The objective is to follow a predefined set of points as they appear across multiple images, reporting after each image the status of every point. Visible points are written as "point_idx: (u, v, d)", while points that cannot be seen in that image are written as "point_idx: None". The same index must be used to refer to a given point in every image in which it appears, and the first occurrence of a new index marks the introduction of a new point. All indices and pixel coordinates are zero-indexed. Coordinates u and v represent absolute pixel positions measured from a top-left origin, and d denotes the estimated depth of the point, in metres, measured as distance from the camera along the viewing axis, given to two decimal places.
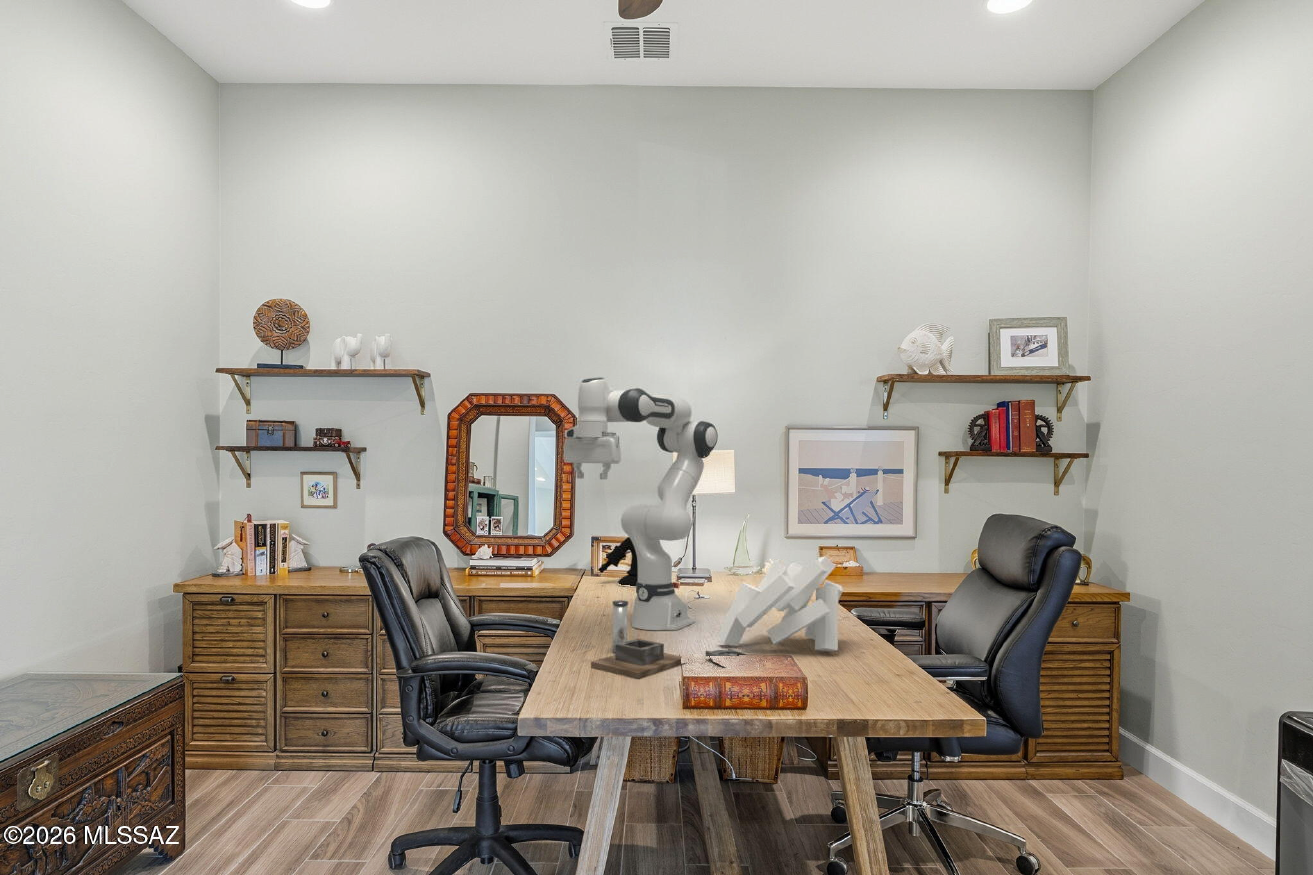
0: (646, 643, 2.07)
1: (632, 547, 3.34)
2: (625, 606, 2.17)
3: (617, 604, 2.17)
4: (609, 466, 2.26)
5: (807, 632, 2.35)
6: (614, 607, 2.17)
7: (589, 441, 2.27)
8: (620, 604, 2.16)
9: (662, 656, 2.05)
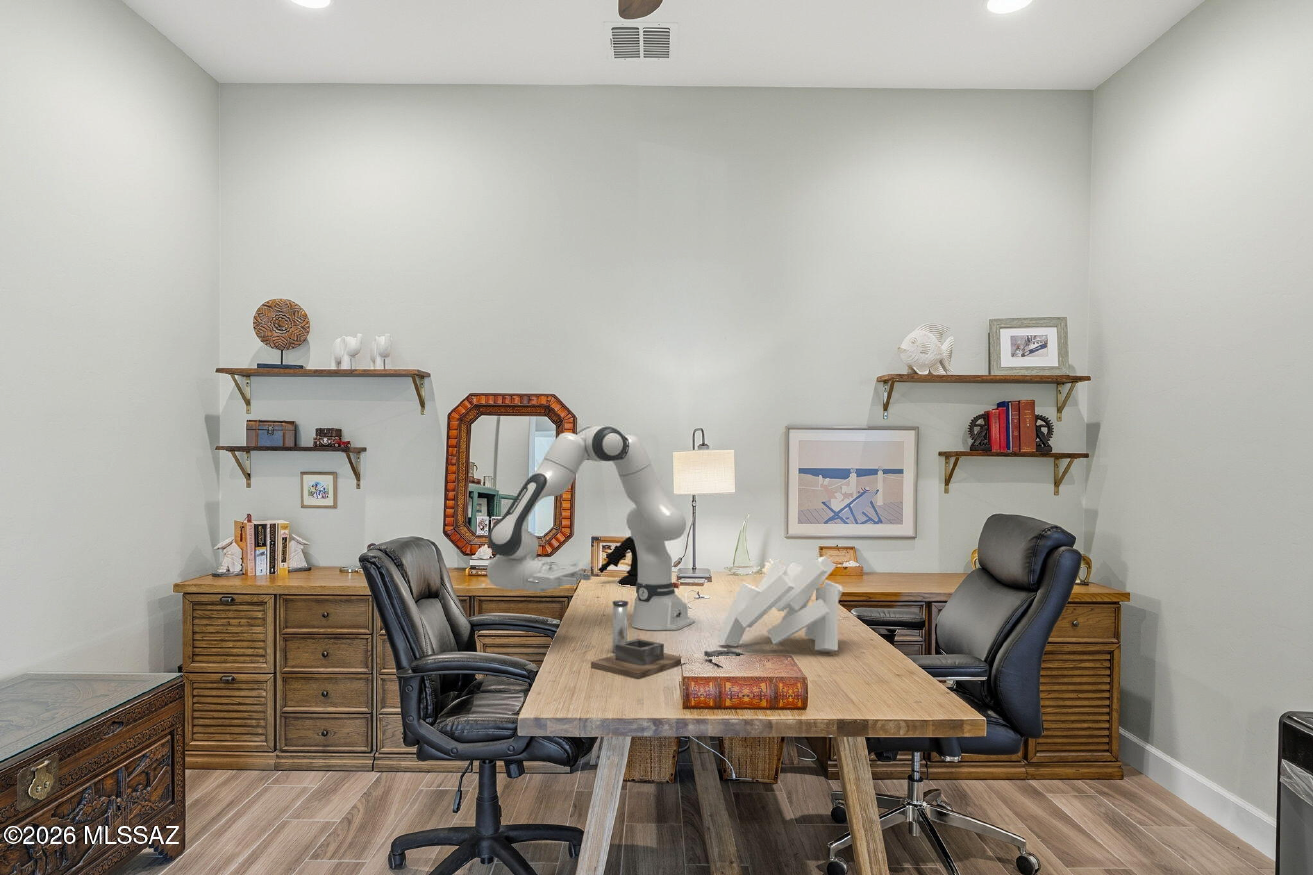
0: (646, 643, 2.07)
1: (632, 547, 3.34)
2: (625, 606, 2.17)
3: (617, 604, 2.17)
4: (561, 580, 2.17)
5: (807, 632, 2.35)
6: (614, 607, 2.17)
7: None
8: (620, 604, 2.16)
9: (662, 656, 2.05)
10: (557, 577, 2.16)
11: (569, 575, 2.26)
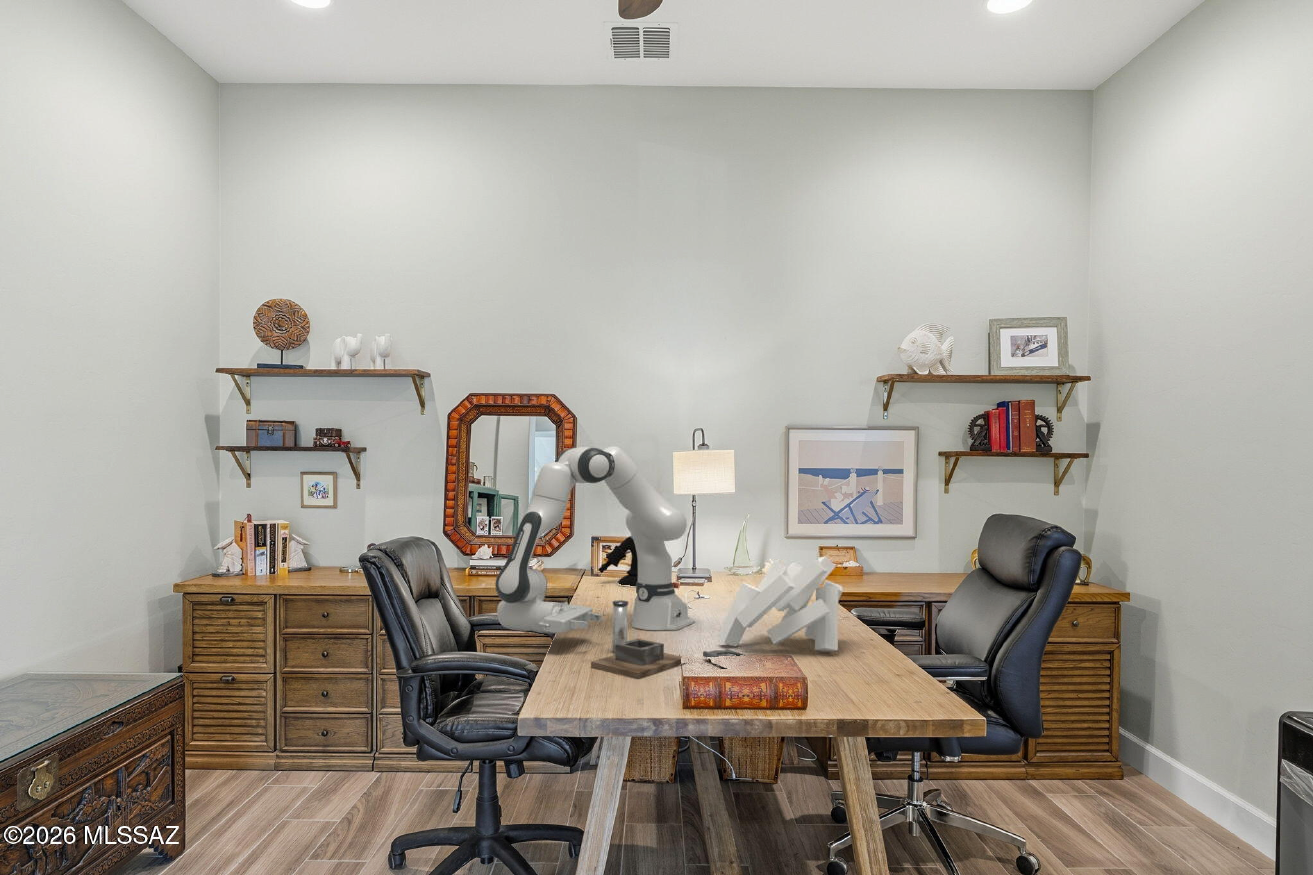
0: (646, 643, 2.07)
1: (632, 547, 3.34)
2: (625, 606, 2.17)
3: (617, 604, 2.17)
4: (572, 623, 2.16)
5: (807, 632, 2.35)
6: (614, 607, 2.17)
7: None
8: (620, 604, 2.16)
9: (662, 656, 2.05)
10: (568, 620, 2.15)
11: (580, 616, 2.24)
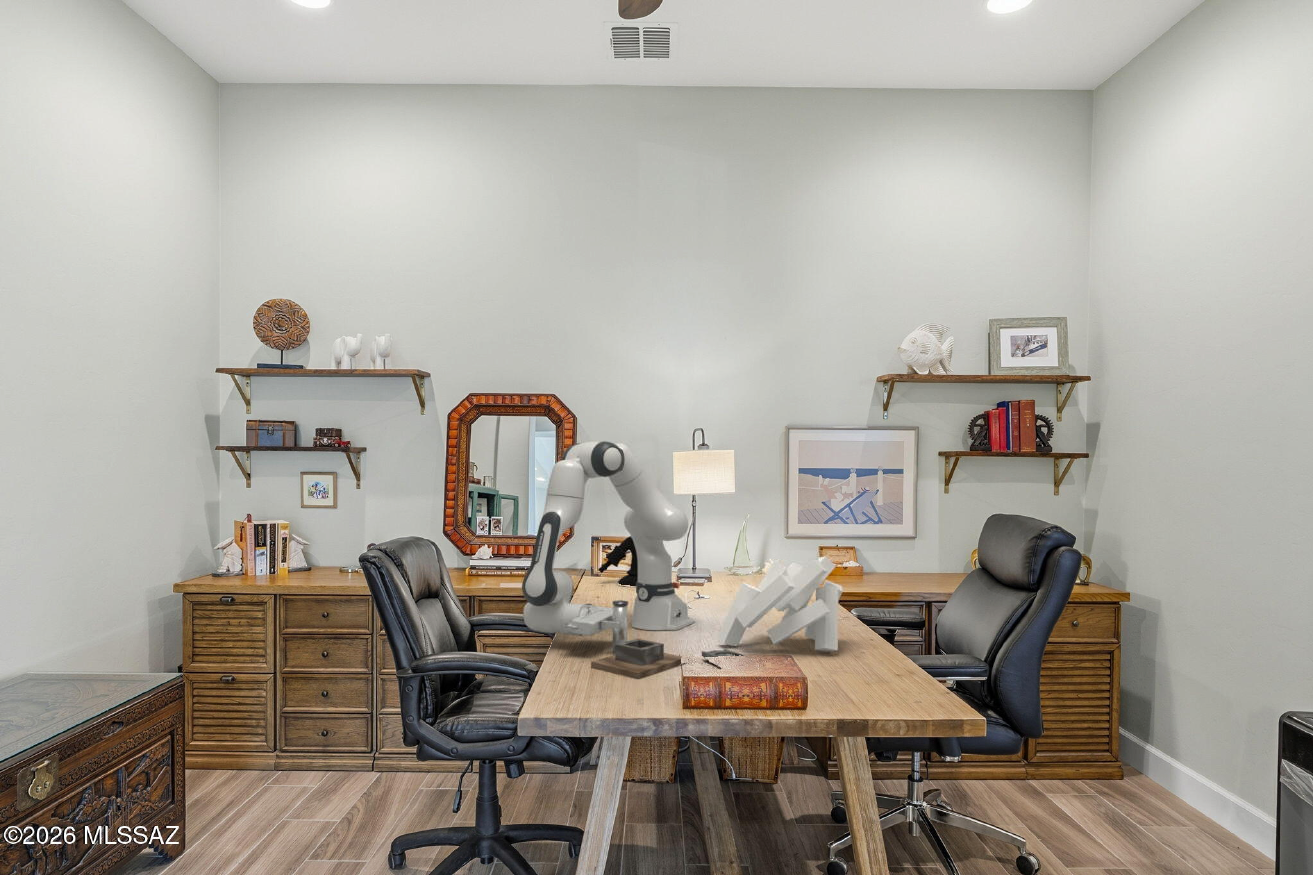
0: (646, 643, 2.07)
1: (632, 547, 3.34)
2: (625, 606, 2.17)
3: (617, 604, 2.17)
4: (604, 624, 2.15)
5: (807, 632, 2.35)
6: (614, 607, 2.17)
7: None
8: (620, 604, 2.16)
9: (662, 656, 2.05)
10: (597, 622, 2.13)
11: (608, 618, 2.22)
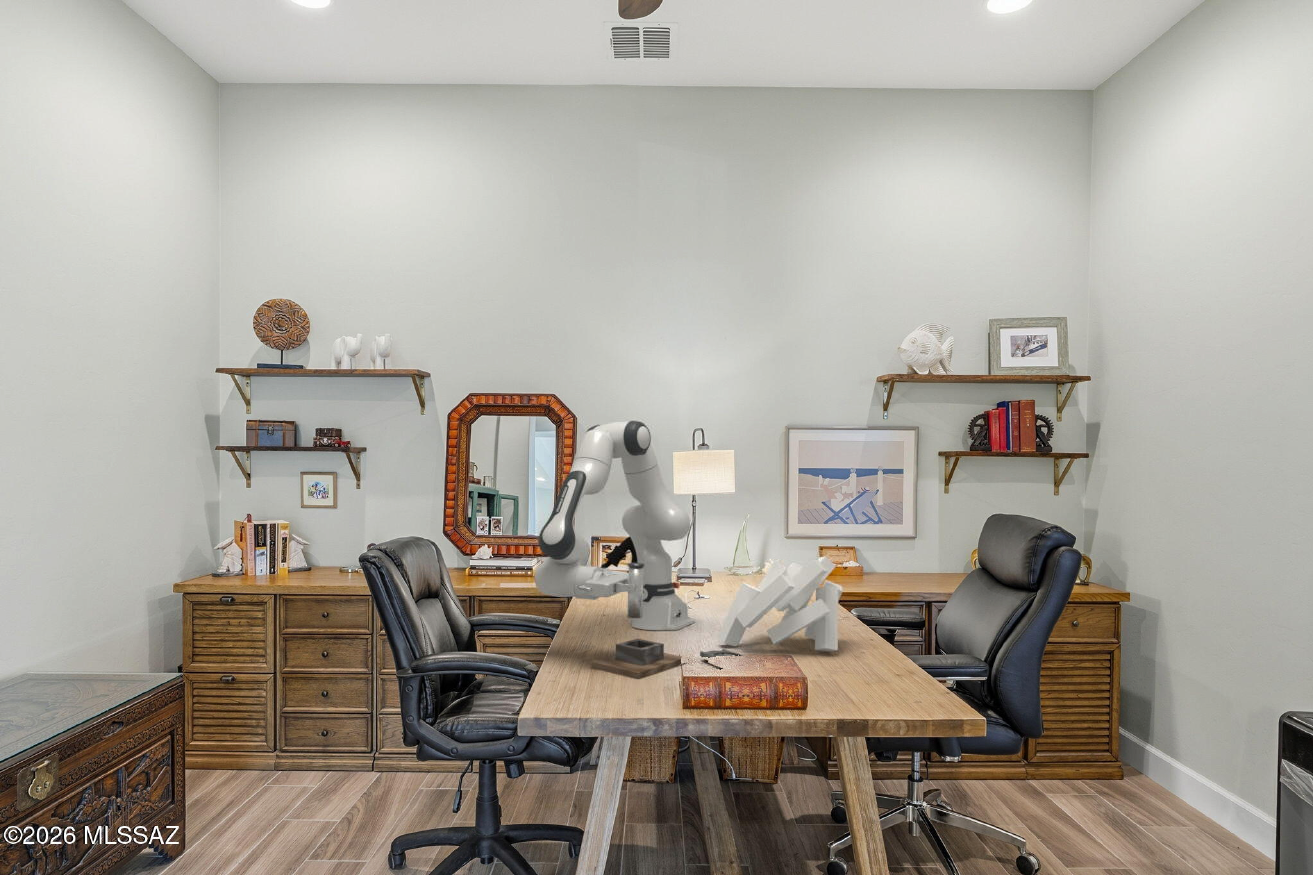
0: (646, 643, 2.07)
1: (632, 547, 3.34)
2: (641, 568, 2.06)
3: (633, 566, 2.05)
4: (619, 586, 2.04)
5: (807, 632, 2.35)
6: (630, 569, 2.06)
7: None
8: (636, 566, 2.05)
9: (662, 656, 2.05)
10: (612, 584, 2.01)
11: (623, 582, 2.10)
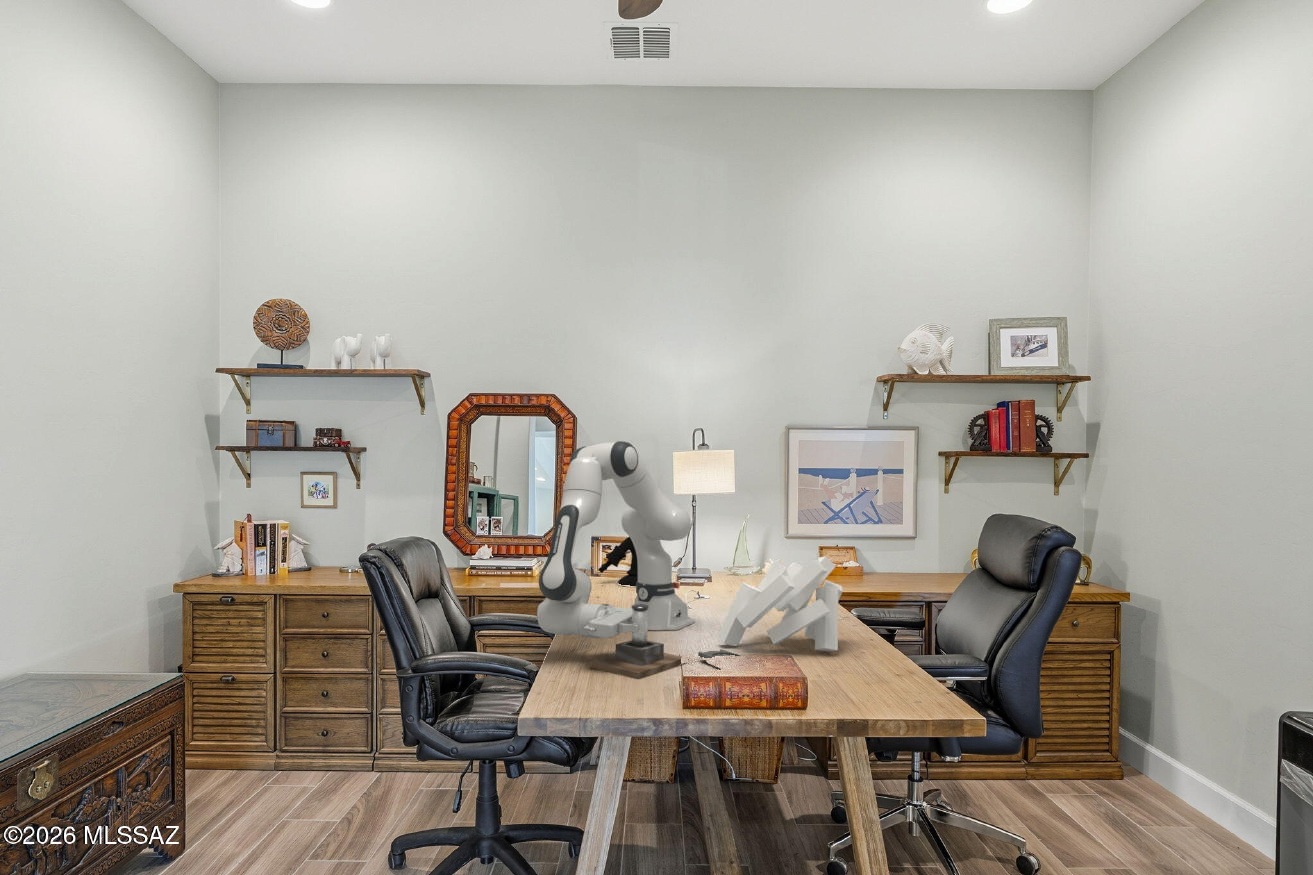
0: None
1: (632, 547, 3.34)
2: (645, 611, 2.03)
3: (637, 608, 2.03)
4: (621, 627, 2.00)
5: (807, 632, 2.35)
6: (633, 612, 2.04)
7: None
8: (640, 609, 2.03)
9: (662, 656, 2.05)
10: (616, 624, 1.99)
11: (626, 620, 2.08)
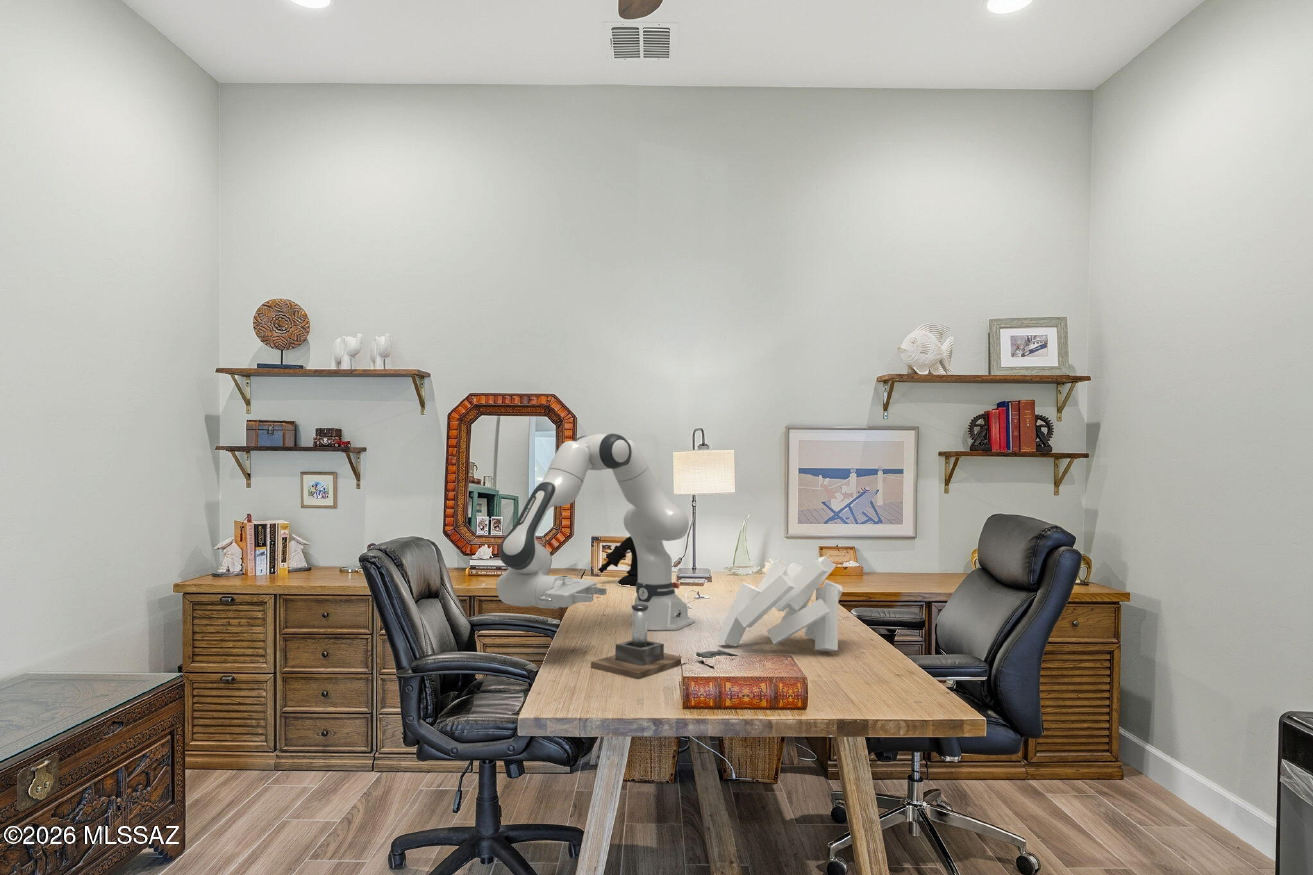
0: None
1: (632, 547, 3.34)
2: (645, 610, 2.04)
3: (637, 608, 2.03)
4: (575, 597, 2.04)
5: (807, 632, 2.35)
6: (633, 611, 2.04)
7: None
8: (640, 608, 2.03)
9: (662, 656, 2.05)
10: (571, 594, 2.04)
11: (583, 590, 2.13)
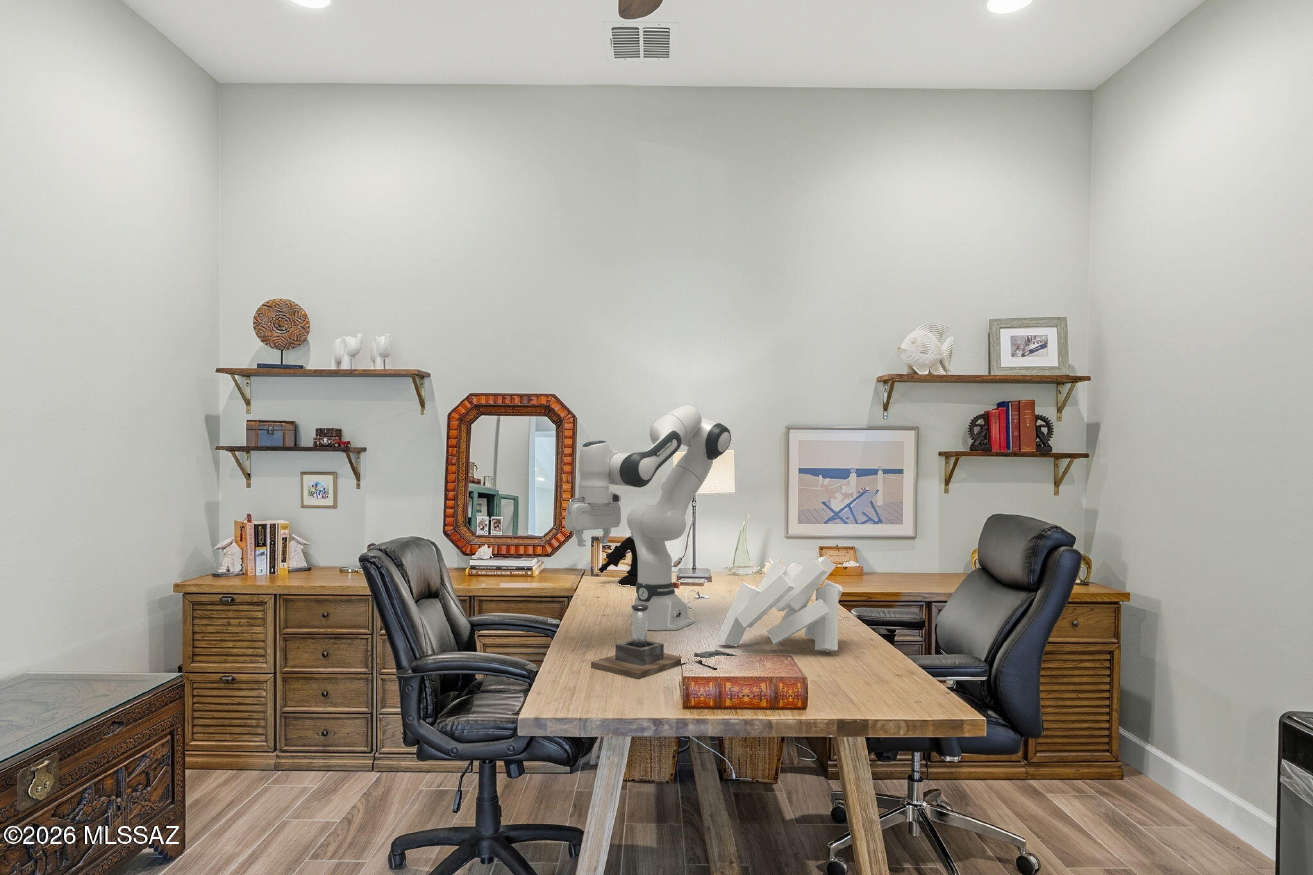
0: None
1: (632, 547, 3.34)
2: (645, 610, 2.04)
3: (637, 608, 2.03)
4: (578, 533, 2.19)
5: (807, 632, 2.35)
6: (633, 611, 2.04)
7: None
8: (640, 608, 2.03)
9: (662, 656, 2.05)
10: (578, 530, 2.18)
11: None
